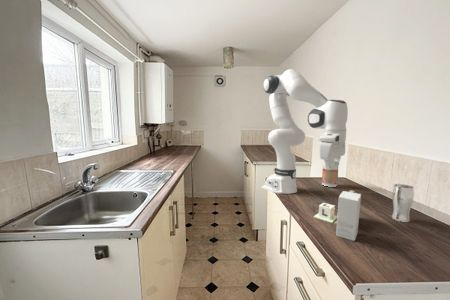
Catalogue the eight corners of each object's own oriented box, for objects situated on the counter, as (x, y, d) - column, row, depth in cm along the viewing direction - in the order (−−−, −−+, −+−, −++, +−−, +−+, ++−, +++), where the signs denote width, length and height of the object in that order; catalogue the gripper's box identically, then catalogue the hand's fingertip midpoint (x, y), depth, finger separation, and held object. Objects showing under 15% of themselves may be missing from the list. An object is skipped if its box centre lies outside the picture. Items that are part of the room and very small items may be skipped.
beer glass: (403, 223, 89) (406, 189, 87) (386, 216, 96) (389, 184, 94) (415, 221, 91) (418, 187, 89) (398, 215, 97) (401, 183, 96)
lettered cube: (318, 216, 96) (318, 205, 95) (322, 213, 99) (323, 202, 99) (329, 219, 92) (330, 208, 92) (334, 216, 96) (334, 205, 95)
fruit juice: (328, 188, 138) (330, 145, 134) (318, 184, 147) (320, 144, 143) (340, 187, 140) (343, 145, 136) (330, 183, 149) (332, 143, 145)
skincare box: (340, 227, 86) (342, 190, 84) (359, 232, 82) (362, 193, 80) (335, 236, 80) (337, 196, 78) (355, 242, 76) (358, 199, 74)
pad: (313, 217, 96) (313, 216, 96) (320, 212, 101) (320, 211, 101) (332, 223, 90) (332, 222, 90) (338, 217, 96) (338, 216, 96)
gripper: (335, 135, 104) (333, 162, 106) (317, 137, 90) (315, 169, 92) (350, 135, 99) (347, 164, 101) (333, 138, 86) (330, 171, 88)
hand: (332, 167), depth 97 cm, fingers open, 8 cm apart
